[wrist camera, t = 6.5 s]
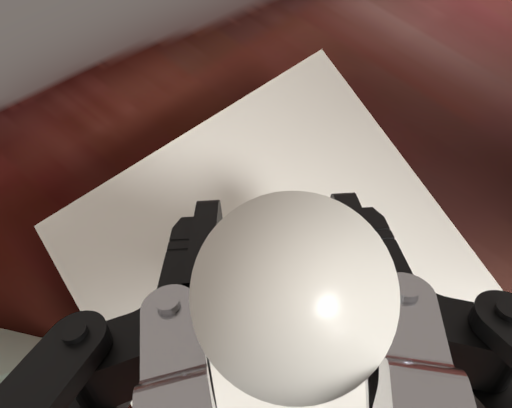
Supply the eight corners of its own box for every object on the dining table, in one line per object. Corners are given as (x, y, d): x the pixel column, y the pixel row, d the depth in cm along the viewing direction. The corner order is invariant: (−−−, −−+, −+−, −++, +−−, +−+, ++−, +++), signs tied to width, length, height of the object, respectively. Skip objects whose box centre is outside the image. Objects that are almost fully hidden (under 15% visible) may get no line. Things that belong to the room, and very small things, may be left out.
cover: (319, 58, 18) (387, -197, 8) (522, 331, 16) (964, 439, 6) (44, 227, 17) (-266, 171, 7) (221, 549, 14) (131, 1147, 5)
